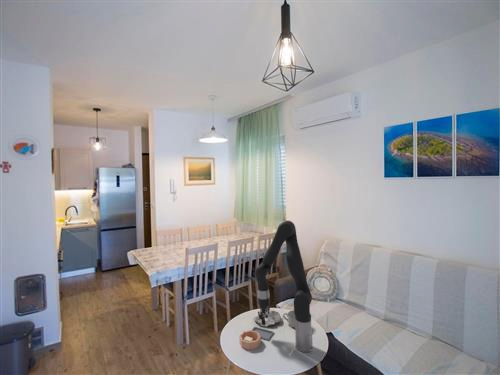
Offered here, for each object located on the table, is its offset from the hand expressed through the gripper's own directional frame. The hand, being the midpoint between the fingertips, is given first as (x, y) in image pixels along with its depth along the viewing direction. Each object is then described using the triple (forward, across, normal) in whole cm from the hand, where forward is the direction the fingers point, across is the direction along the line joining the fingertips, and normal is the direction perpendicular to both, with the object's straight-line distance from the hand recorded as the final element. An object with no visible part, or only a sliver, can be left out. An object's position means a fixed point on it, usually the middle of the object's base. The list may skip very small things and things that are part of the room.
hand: (264, 323), depth 166 cm
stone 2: (+1, 0, 0) cm, 1 cm away
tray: (+9, +2, +4) cm, 10 cm away
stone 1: (+8, -12, +6) cm, 16 cm away
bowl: (+9, -10, +6) cm, 15 cm away
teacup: (+10, +21, -11) cm, 26 cm away
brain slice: (+9, +18, +6) cm, 21 cm away
